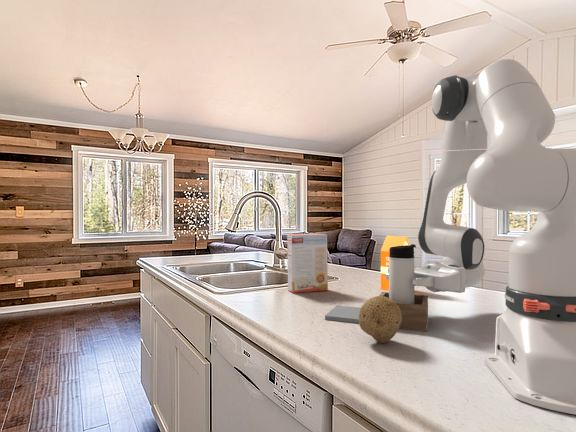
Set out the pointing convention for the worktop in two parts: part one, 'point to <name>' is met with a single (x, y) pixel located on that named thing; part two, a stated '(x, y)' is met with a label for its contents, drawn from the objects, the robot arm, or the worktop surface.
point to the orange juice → (389, 242)
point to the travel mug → (401, 273)
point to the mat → (344, 314)
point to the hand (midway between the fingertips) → (400, 279)
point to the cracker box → (307, 262)
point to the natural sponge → (380, 318)
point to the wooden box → (413, 313)
